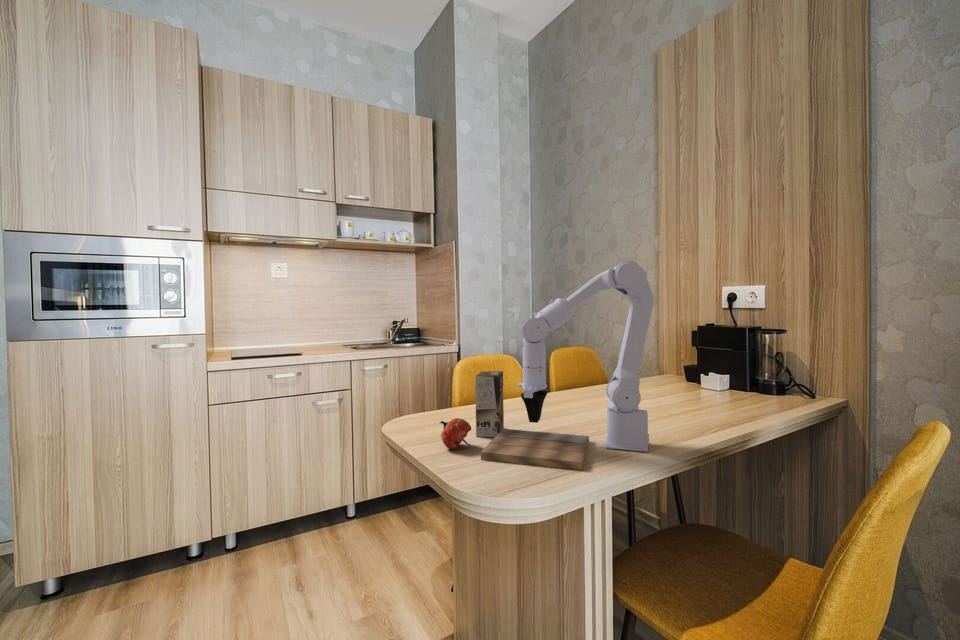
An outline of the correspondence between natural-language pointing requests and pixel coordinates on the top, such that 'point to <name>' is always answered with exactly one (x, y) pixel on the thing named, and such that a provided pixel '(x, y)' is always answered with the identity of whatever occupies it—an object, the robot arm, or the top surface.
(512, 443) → the laid planks
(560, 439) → the charcoal plank
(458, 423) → the red rounded piece
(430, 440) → the top surface
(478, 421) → the coffee box
